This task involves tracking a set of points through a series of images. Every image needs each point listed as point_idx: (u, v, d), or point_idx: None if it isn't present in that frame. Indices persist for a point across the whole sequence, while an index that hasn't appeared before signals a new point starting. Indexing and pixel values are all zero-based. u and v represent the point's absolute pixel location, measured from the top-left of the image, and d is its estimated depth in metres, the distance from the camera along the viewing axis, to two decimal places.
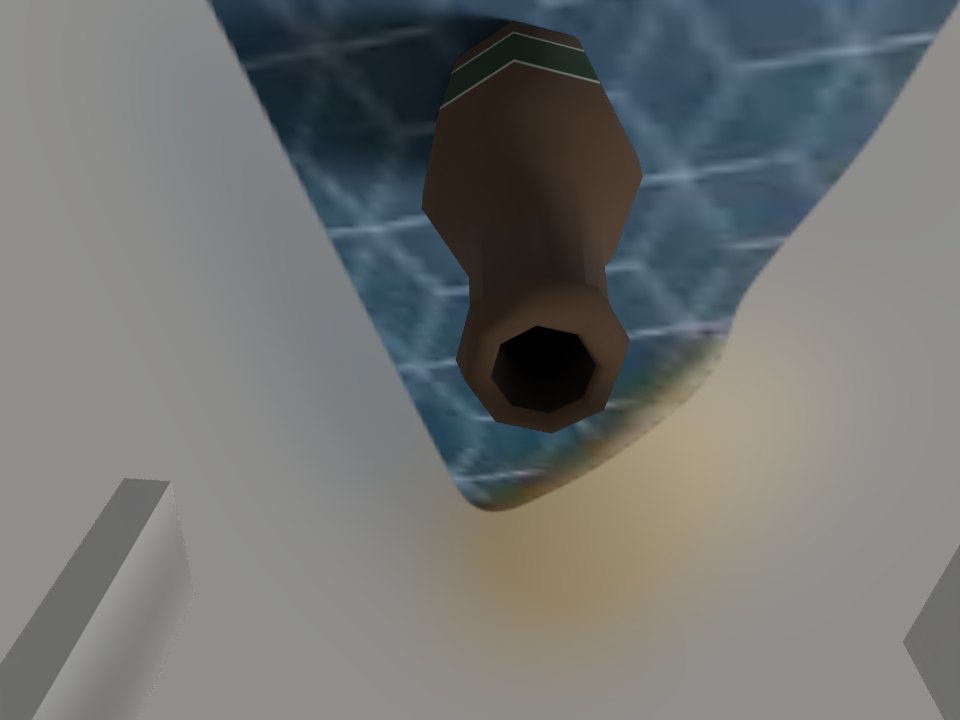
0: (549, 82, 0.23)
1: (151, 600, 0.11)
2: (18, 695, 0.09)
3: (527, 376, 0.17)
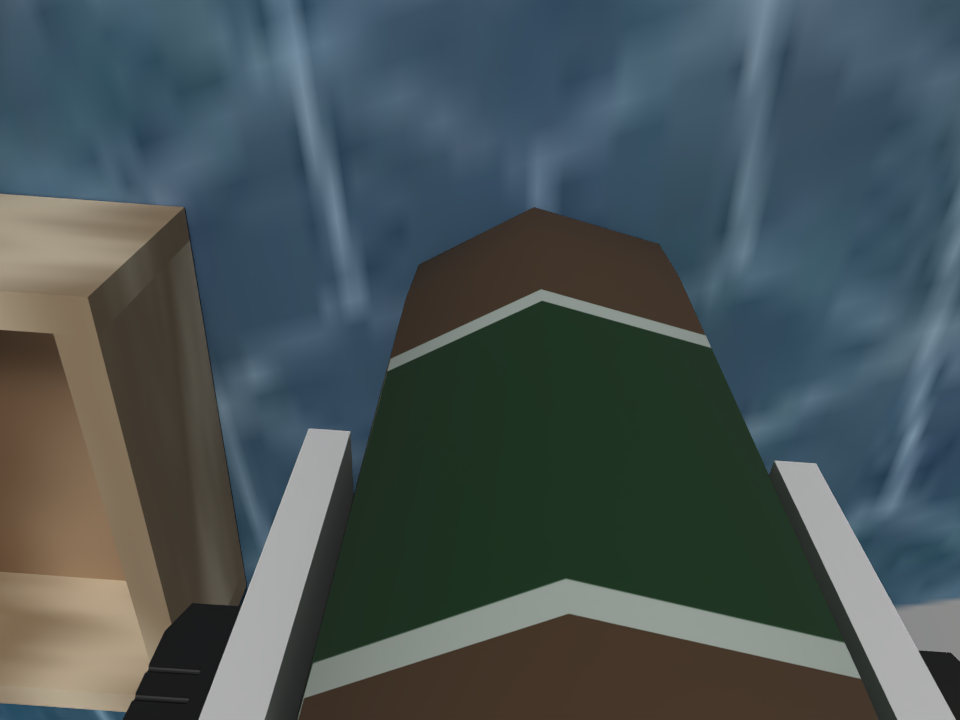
0: None
1: (339, 535, 0.13)
2: (277, 599, 0.10)
3: None
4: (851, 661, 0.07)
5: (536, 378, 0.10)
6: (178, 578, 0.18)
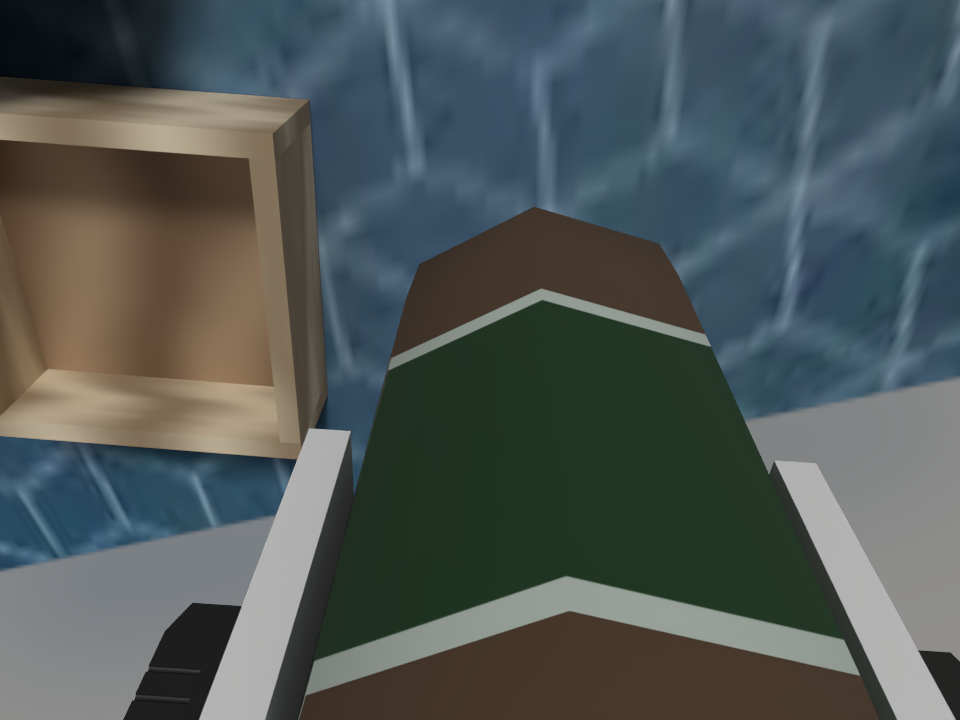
0: None
1: (339, 535, 0.13)
2: (277, 599, 0.10)
3: None
4: (850, 658, 0.07)
5: (537, 376, 0.10)
6: (298, 350, 0.27)
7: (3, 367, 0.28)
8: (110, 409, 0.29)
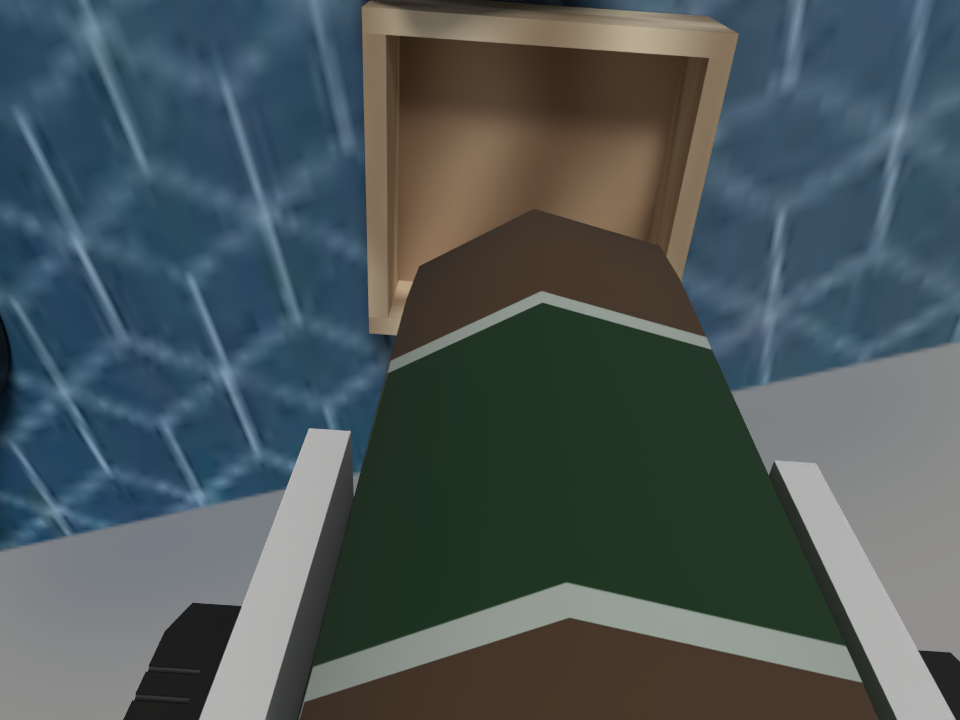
0: None
1: (339, 535, 0.13)
2: (277, 599, 0.10)
3: None
4: (852, 665, 0.07)
5: (537, 380, 0.10)
6: None
7: (391, 271, 0.31)
8: None
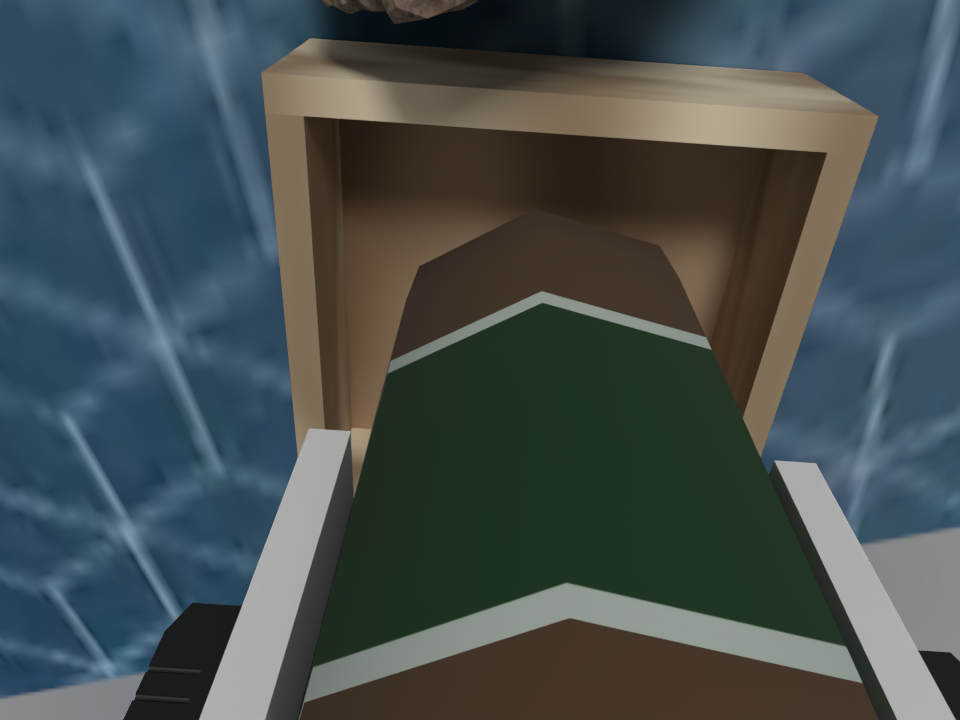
0: None
1: (339, 535, 0.13)
2: (277, 599, 0.10)
3: None
4: (853, 665, 0.07)
5: (537, 381, 0.10)
6: None
7: None
8: None
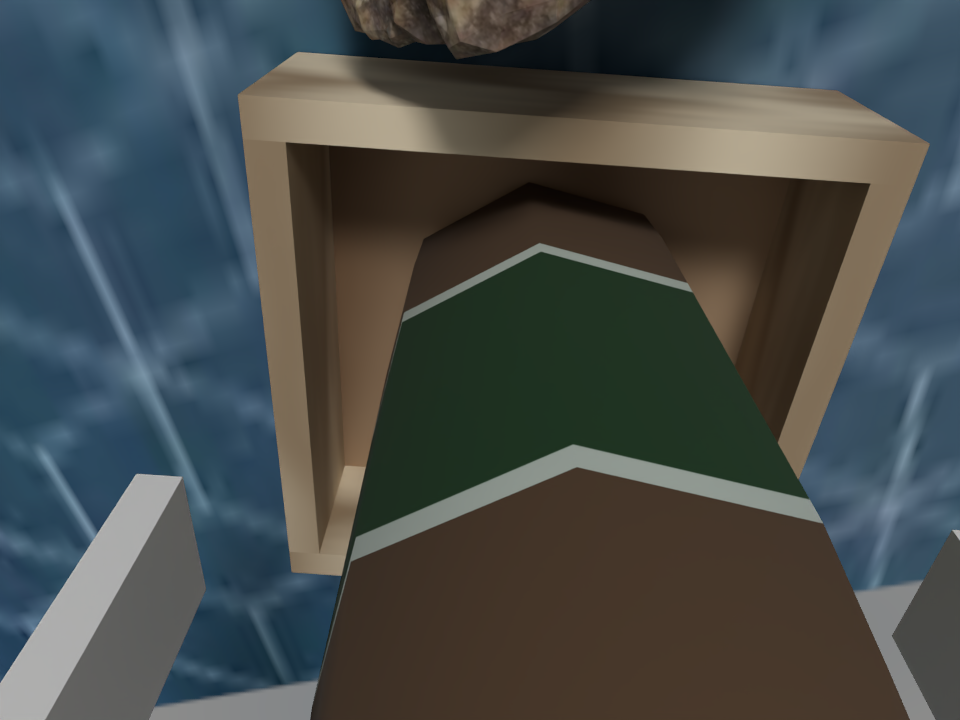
0: None
1: (163, 594, 0.11)
2: (36, 686, 0.09)
3: None
4: (815, 511, 0.08)
5: (539, 309, 0.11)
6: None
7: (326, 477, 0.20)
8: None
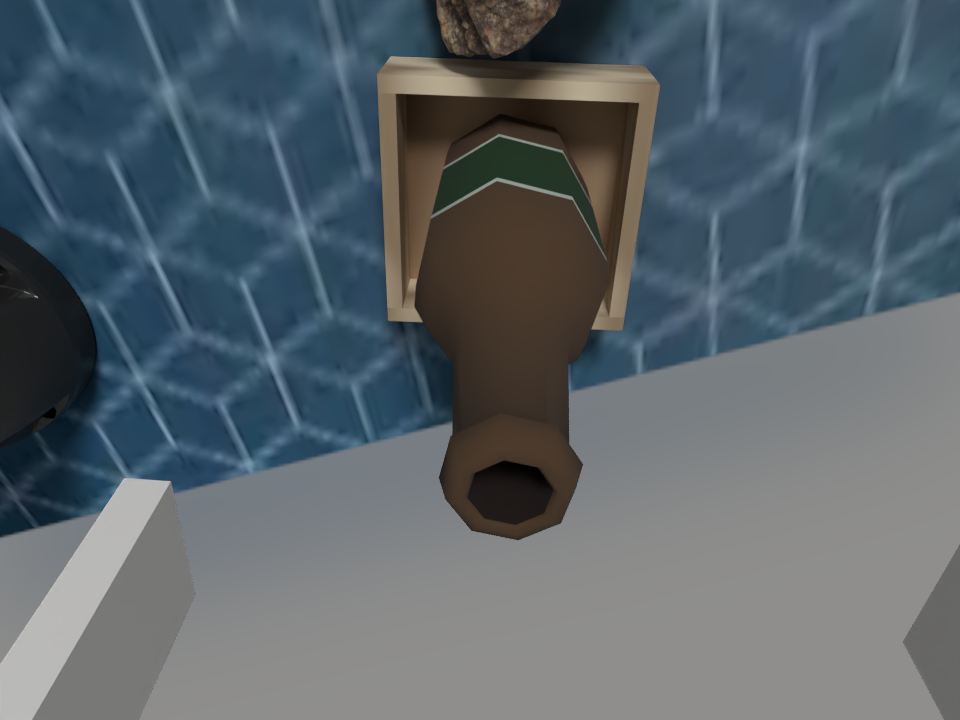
0: (420, 276, 0.28)
1: (151, 600, 0.11)
2: (18, 695, 0.09)
3: None
4: (571, 197, 0.28)
5: (494, 152, 0.31)
6: None
7: (404, 271, 0.39)
8: None
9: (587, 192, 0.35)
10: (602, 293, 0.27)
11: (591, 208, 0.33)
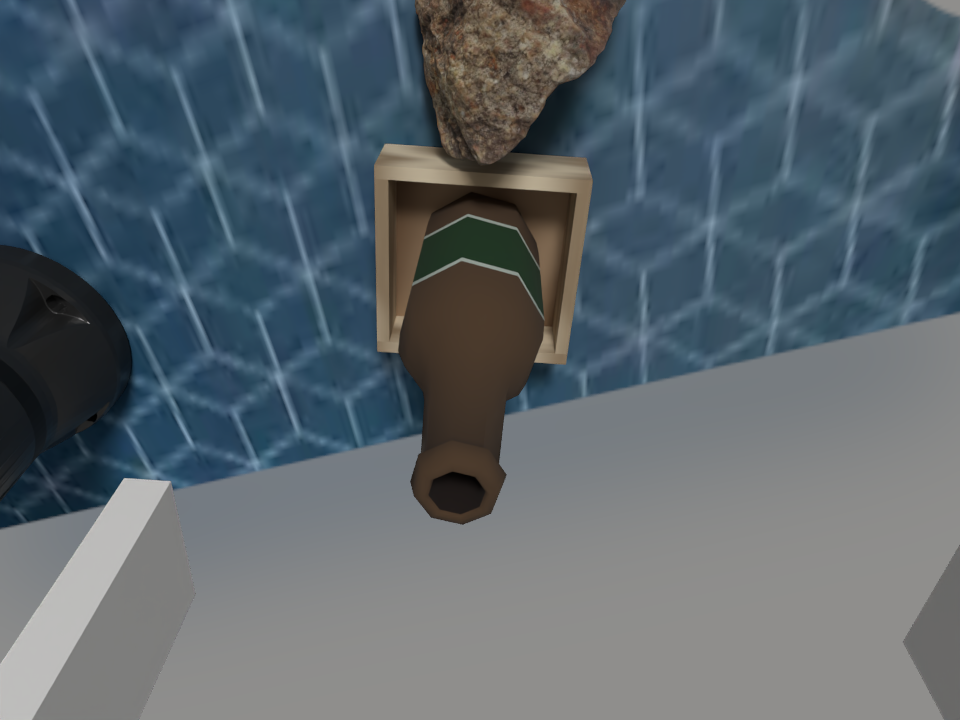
0: (402, 329, 0.37)
1: (151, 600, 0.11)
2: (18, 695, 0.09)
3: None
4: (517, 274, 0.37)
5: (462, 232, 0.40)
6: None
7: (391, 311, 0.48)
8: None
9: (537, 257, 0.45)
10: (536, 347, 0.36)
11: (538, 273, 0.43)
